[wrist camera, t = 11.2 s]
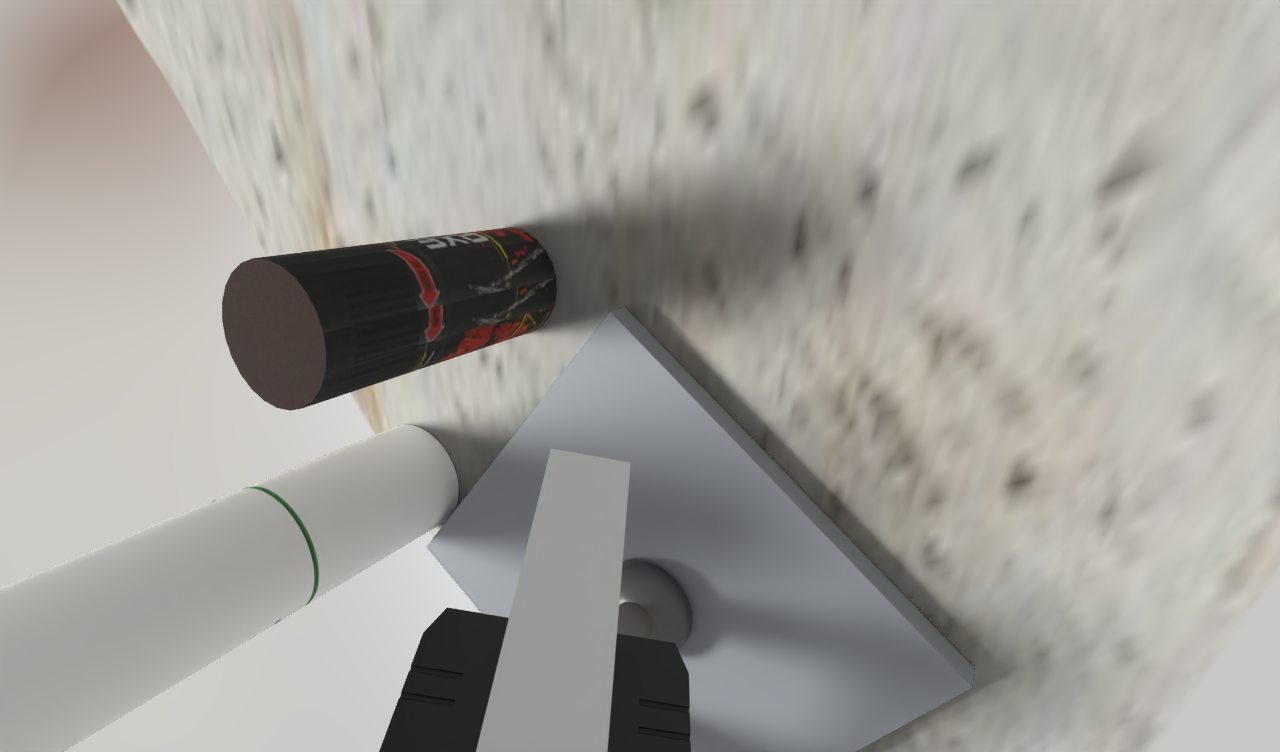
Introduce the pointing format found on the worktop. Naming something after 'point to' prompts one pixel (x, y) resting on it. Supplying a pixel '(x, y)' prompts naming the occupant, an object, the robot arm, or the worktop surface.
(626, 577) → the post stand with crossbar
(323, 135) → the worktop surface
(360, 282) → the deodorant
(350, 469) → the cylindrical container
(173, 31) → the worktop surface
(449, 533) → the plate
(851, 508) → the worktop surface
